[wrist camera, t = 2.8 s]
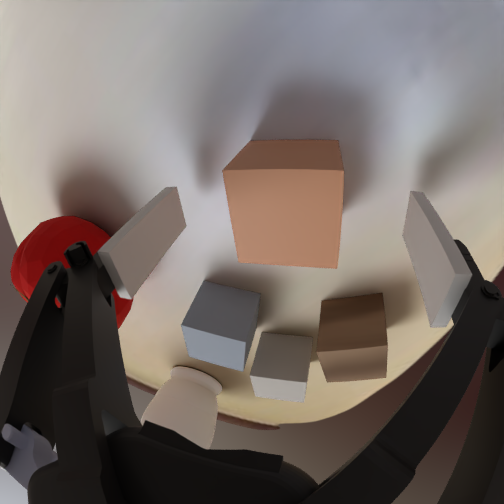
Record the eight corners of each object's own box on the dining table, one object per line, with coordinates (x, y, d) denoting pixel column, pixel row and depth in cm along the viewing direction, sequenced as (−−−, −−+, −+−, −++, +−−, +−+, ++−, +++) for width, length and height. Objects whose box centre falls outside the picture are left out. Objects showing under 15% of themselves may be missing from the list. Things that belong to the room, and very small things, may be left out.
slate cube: (204, 280, 23) (181, 324, 20) (260, 293, 23) (245, 342, 19) (207, 315, 27) (189, 356, 23) (256, 327, 26) (243, 371, 22)
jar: (209, 397, 43) (182, 471, 31) (157, 369, 40) (122, 445, 29) (242, 387, 36) (213, 480, 25) (180, 354, 34) (136, 451, 22)
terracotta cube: (250, 140, 15) (222, 170, 11) (337, 139, 14) (344, 170, 10) (259, 214, 18) (238, 262, 14) (336, 216, 17) (337, 268, 13)
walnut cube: (321, 300, 21) (316, 352, 18) (382, 292, 19) (387, 345, 16) (331, 335, 24) (327, 382, 20) (383, 329, 22) (386, 377, 18)
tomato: (60, 172, 20) (-21, 237, 12) (166, 245, 22) (97, 344, 14) (58, 246, 27) (6, 305, 19) (140, 305, 29) (96, 379, 21)
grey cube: (261, 331, 26) (249, 375, 22) (313, 336, 25) (306, 382, 21) (265, 357, 29) (255, 396, 25) (310, 361, 28) (303, 402, 24)
